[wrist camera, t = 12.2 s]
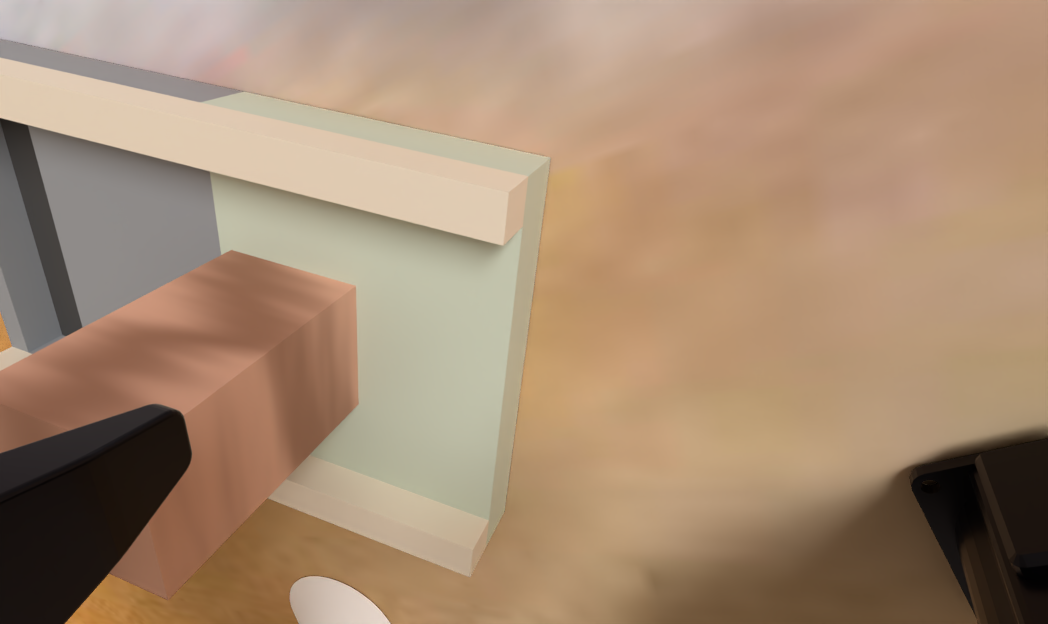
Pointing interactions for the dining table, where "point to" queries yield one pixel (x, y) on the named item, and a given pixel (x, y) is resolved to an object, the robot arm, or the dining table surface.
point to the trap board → (292, 265)
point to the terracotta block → (203, 393)
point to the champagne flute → (332, 603)
